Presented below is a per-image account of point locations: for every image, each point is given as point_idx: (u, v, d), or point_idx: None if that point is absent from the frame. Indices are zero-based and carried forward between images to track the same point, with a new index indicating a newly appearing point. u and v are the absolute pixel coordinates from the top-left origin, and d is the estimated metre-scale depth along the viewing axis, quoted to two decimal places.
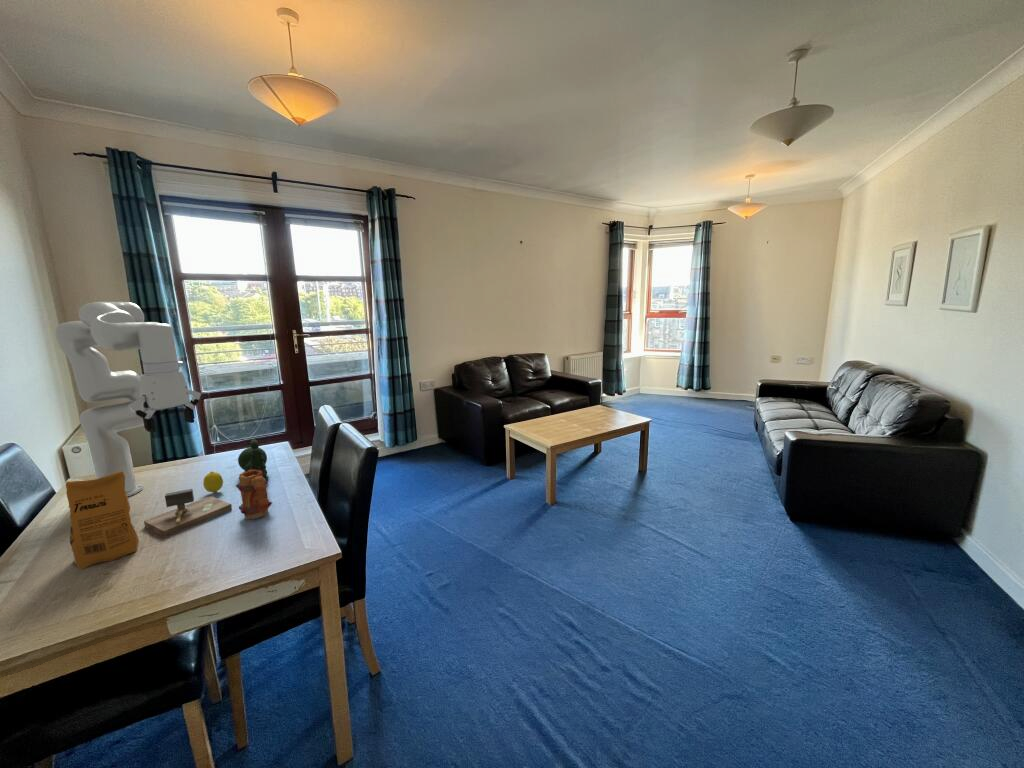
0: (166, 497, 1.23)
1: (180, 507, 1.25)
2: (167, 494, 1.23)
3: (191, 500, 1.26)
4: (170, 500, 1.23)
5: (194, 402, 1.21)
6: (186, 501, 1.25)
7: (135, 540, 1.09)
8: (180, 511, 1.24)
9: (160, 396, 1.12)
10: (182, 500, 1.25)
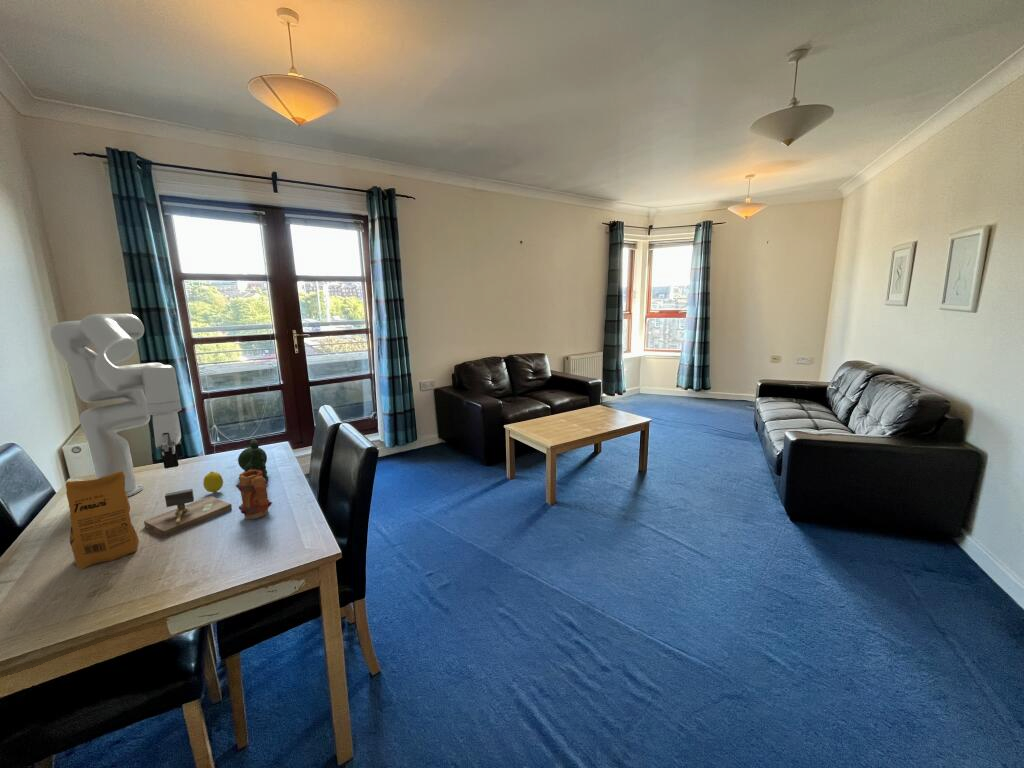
0: (166, 497, 1.23)
1: (180, 507, 1.25)
2: (167, 494, 1.23)
3: (191, 500, 1.26)
4: (170, 500, 1.23)
5: None
6: (186, 501, 1.25)
7: (135, 540, 1.09)
8: (180, 511, 1.24)
9: (177, 431, 1.20)
10: (182, 500, 1.25)
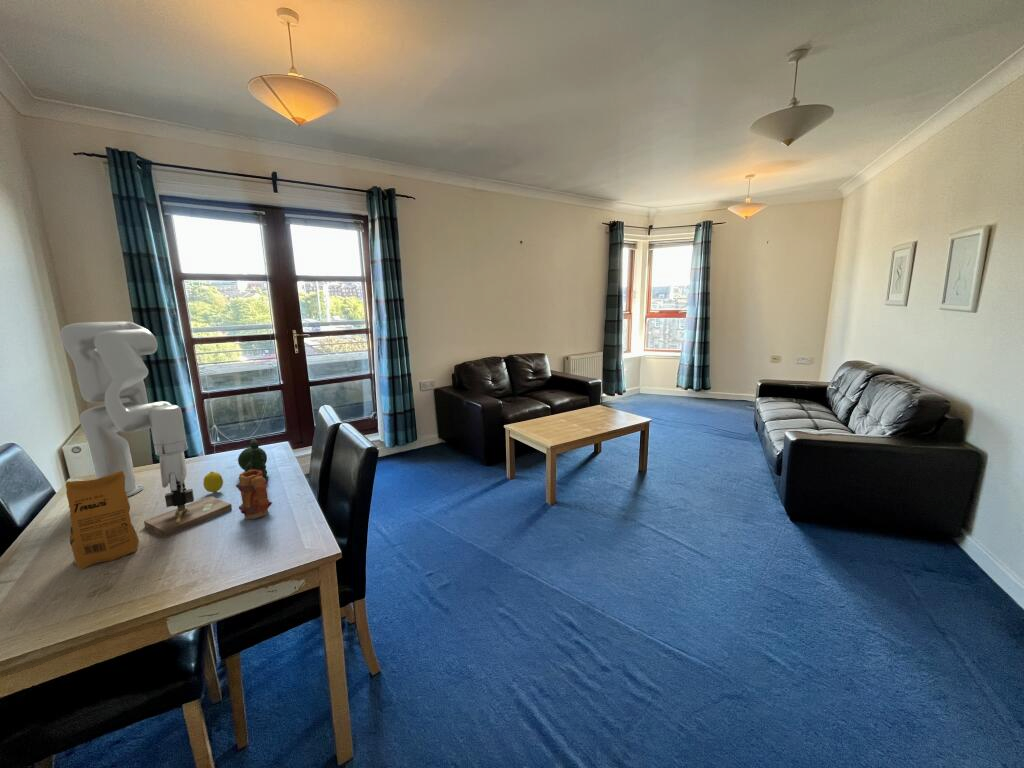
0: (166, 497, 1.23)
1: (180, 507, 1.25)
2: (167, 494, 1.23)
3: (191, 500, 1.26)
4: (170, 500, 1.23)
5: None
6: (186, 501, 1.25)
7: (135, 540, 1.09)
8: (180, 511, 1.24)
9: (183, 470, 1.23)
10: None
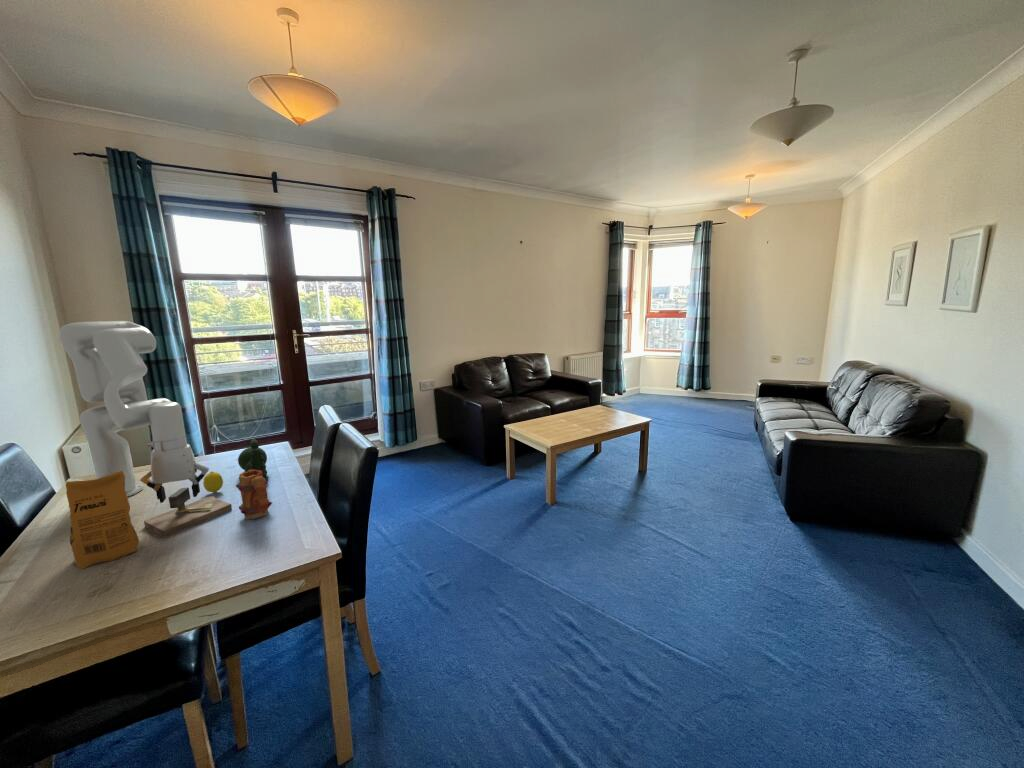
0: (176, 497, 1.22)
1: (184, 506, 1.26)
2: (173, 496, 1.22)
3: (189, 497, 1.28)
4: (179, 499, 1.23)
5: None
6: (187, 498, 1.27)
7: (135, 540, 1.09)
8: (187, 508, 1.26)
9: None
10: (184, 498, 1.26)
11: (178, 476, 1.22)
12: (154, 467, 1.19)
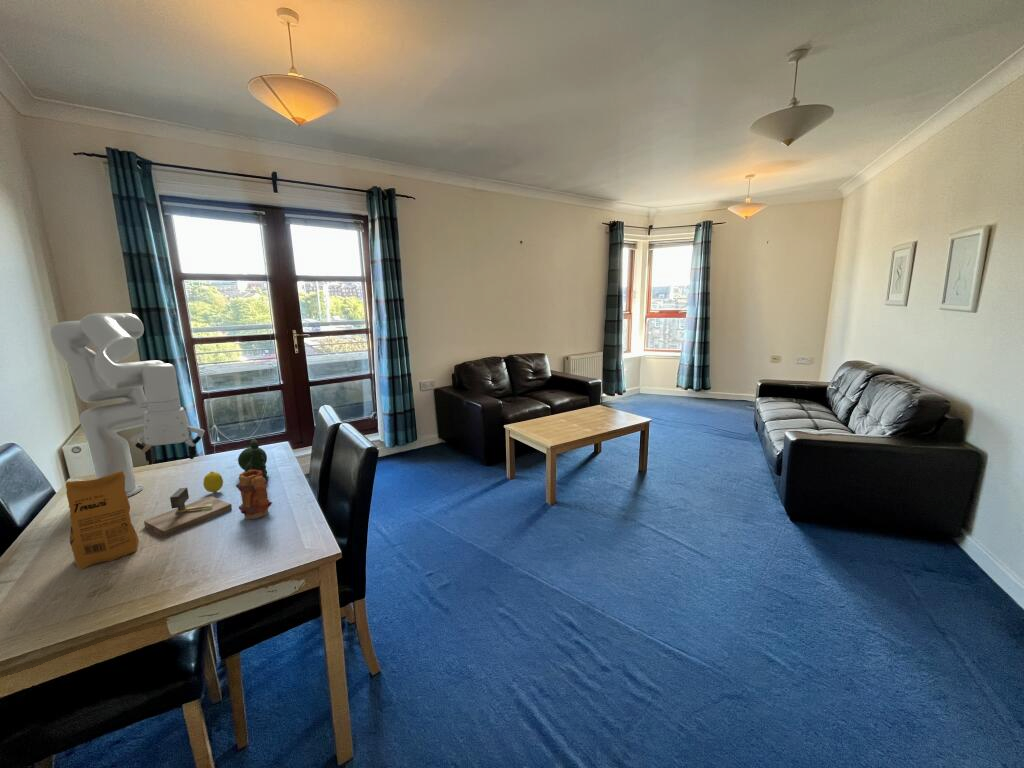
0: (178, 497, 1.23)
1: (184, 505, 1.26)
2: (174, 496, 1.22)
3: (188, 496, 1.28)
4: (180, 499, 1.24)
5: None
6: (186, 498, 1.27)
7: (135, 540, 1.09)
8: (187, 508, 1.26)
9: None
10: (184, 498, 1.26)
11: (171, 439, 1.20)
12: (147, 429, 1.17)
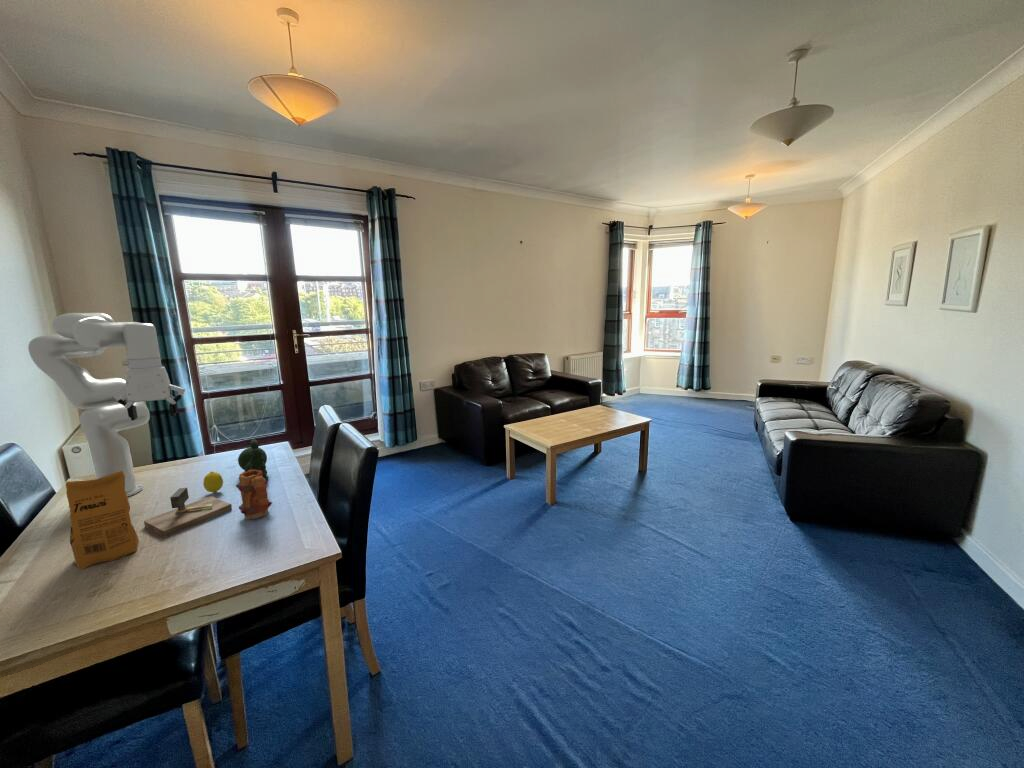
0: (178, 497, 1.23)
1: (184, 505, 1.26)
2: (175, 496, 1.22)
3: (188, 496, 1.28)
4: (180, 499, 1.24)
5: None
6: (186, 498, 1.27)
7: (135, 540, 1.09)
8: (187, 508, 1.26)
9: None
10: (184, 498, 1.26)
11: (152, 396, 1.25)
12: (128, 385, 1.22)
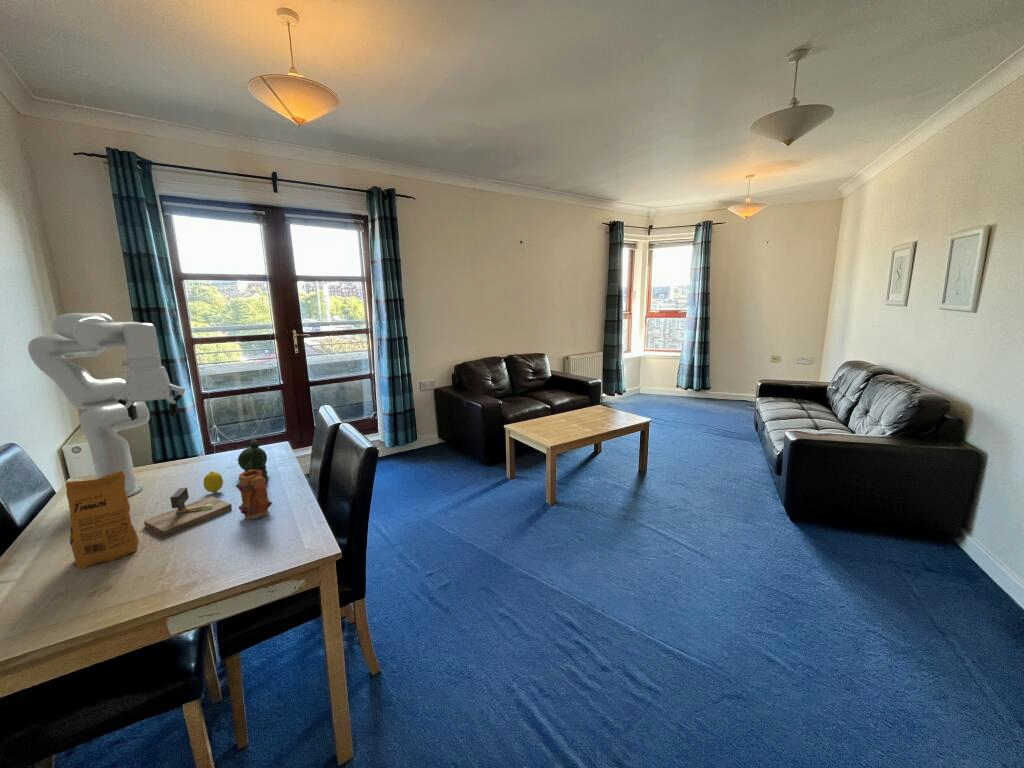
0: (179, 497, 1.23)
1: (184, 505, 1.26)
2: (175, 496, 1.22)
3: (187, 496, 1.28)
4: (180, 499, 1.24)
5: None
6: (186, 498, 1.27)
7: (135, 540, 1.09)
8: (187, 508, 1.26)
9: None
10: (184, 498, 1.26)
11: (152, 395, 1.25)
12: (128, 385, 1.22)
